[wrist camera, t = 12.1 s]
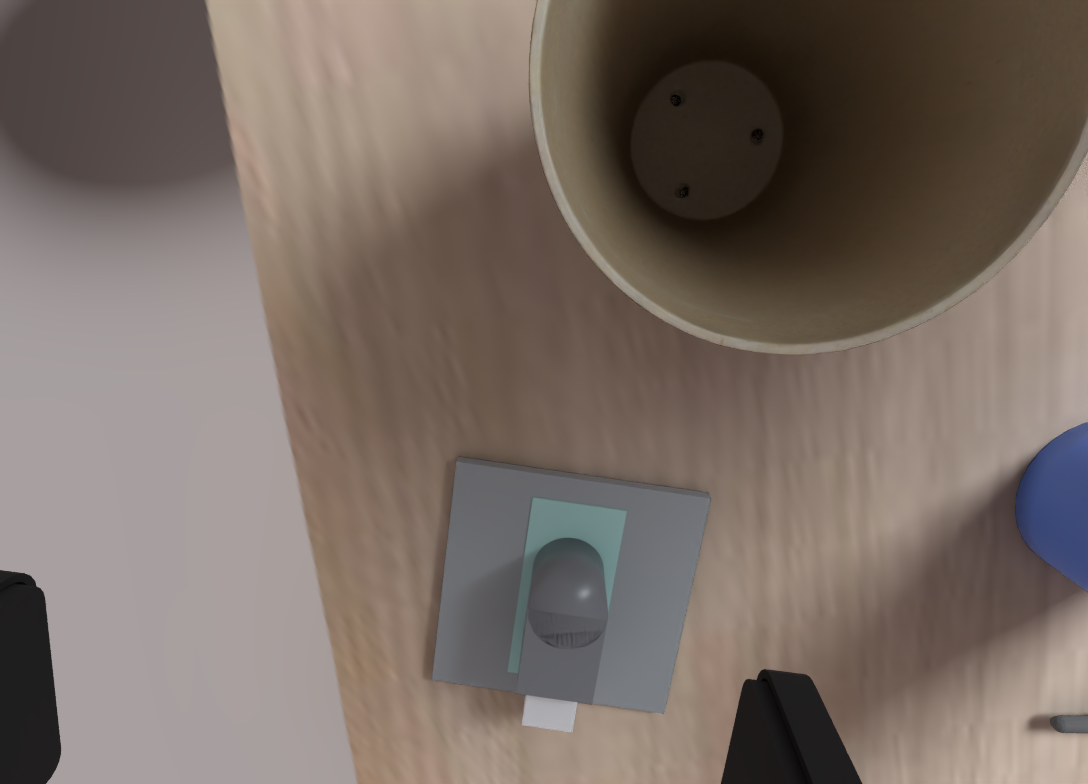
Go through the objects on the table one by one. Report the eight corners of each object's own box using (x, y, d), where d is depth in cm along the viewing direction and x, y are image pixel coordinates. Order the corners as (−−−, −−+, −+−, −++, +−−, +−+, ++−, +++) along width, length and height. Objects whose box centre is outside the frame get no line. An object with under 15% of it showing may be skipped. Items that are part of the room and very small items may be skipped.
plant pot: (808, -87, 30) (1057, -409, 15) (891, 230, 33) (1167, 239, 18) (501, 48, 32) (437, -111, 17) (608, 336, 35) (638, 427, 20)
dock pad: (708, 492, 37) (711, 499, 36) (662, 704, 41) (664, 715, 40) (458, 456, 37) (455, 462, 36) (434, 671, 41) (431, 681, 40)
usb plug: (537, 532, 37) (533, 573, 33) (609, 543, 37) (614, 584, 33) (515, 685, 40) (508, 741, 35) (582, 695, 40) (583, 752, 35)
